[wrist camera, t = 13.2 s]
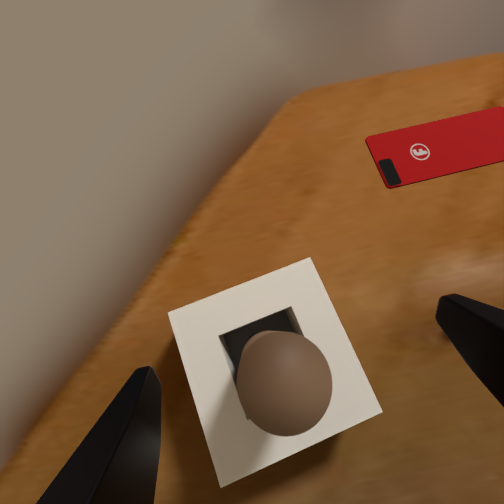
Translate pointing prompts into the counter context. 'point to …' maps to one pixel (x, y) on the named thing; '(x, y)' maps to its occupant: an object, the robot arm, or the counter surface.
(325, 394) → the walnut pin
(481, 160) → the electronic device
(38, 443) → the counter surface
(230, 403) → the bore block
